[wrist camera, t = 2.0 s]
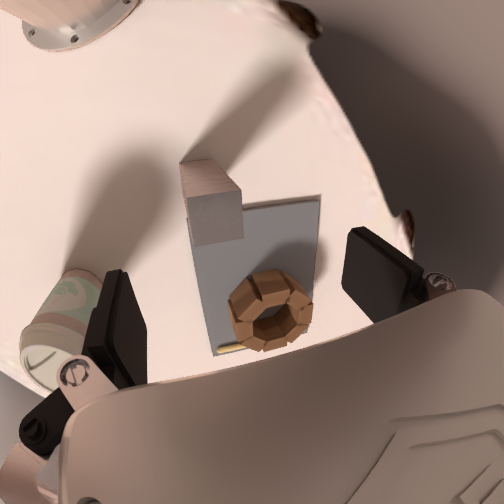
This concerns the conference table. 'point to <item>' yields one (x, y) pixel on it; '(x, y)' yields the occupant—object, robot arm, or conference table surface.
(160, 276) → the conference table surface
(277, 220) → the mat
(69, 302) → the coffee cup
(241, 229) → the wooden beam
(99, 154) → the conference table surface
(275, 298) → the brown wooden ring
